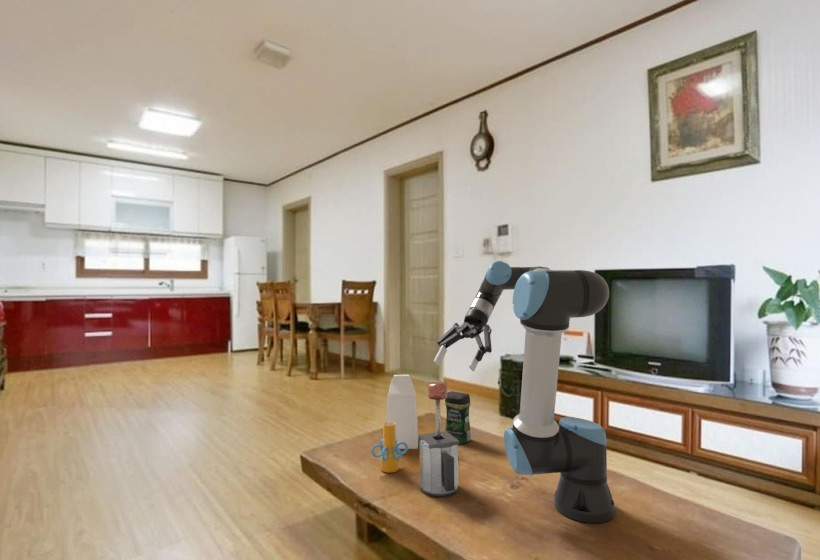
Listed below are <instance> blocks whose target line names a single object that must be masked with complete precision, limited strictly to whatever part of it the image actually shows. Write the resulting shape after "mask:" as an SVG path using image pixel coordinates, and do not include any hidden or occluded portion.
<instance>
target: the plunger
mask: <svg viewBox="0 0 820 560" xmlns="http://www.w3.org/2000/svg"><path fill="white" fill-rule="evenodd" d="M427 385H428V386H427V389H428V390H427V392H428V399H430V400H433V401H435V432H436V440H440V439H441V432H442V431H441V427H442V426H441V425H442V424H441V400H445V399H446V398H447V393H448V384H447V383H446V382H445V381H444V382H443V381H432V382H428V384H427Z"/></svg>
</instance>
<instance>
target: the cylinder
mask: <svg viewBox="0 0 820 560" xmlns="http://www.w3.org/2000/svg"><path fill="white" fill-rule="evenodd" d="M382 423H383V424H382V425H383V426H382V429H383V432H382V433H383V436H382V437H383V438H381V439H380V440H379V442H378V443H376V444H373V446H372V447H371V450H370V451H371V452H370V453H371V455H372V457H374V458H380V470H381V471H382V472H383V473H385V474H386V473H388V474H389V473H390V474H393V473H395V472H398V471H399V470H400V460H401V458H402V455H403V456H404V455H405V454H406V453H407V451H408V450H409V449H408V446H407V444H406V443H405V442H399V443H398V444H397V440H396V434H395V423H394V422H386V421H385V422H382ZM382 444H383V445H382ZM400 444H404V445H405V447H406V448H405V449H404V450H403V451H401V450H402V449H400V448H399V447H398V446H399V445H400ZM377 447H378V448H379V451H380V453H379V454H376V453H375V449H376V448H377Z"/></svg>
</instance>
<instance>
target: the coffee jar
mask: <svg viewBox="0 0 820 560" xmlns="http://www.w3.org/2000/svg"><path fill="white" fill-rule="evenodd" d="M444 405H445V409H446V418H445V420H446V421H445V430H444V431H447V432H448V433H450V434H451V435H452V436H453V437H455V438H456V439H457V440H458V441H459V445H460V444H465V443H469V442H470V441H471V439H472V437H471V436H472V434H471V425H470V423H471V422H470V407H471V397H470V393H466V392H465V393H464V392H458V391H453V390H451V391H449V392H448V391H447V398H446V399H444Z"/></svg>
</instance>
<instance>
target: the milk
mask: <svg viewBox="0 0 820 560" xmlns="http://www.w3.org/2000/svg"><path fill="white" fill-rule="evenodd" d="M417 407H418V406H417V393H416V388H415V385H414V383H413V380H412V377H411V376H410V374H393V377H392V379H391V382H390V383H389V388H388V393H387V395H386V418H385V422H394V423H395V434H396V440H397V444H398V443H399V442H405V443H406V444H407V446H408V450H418V449H419V425H418V424H419V423H418V410H417ZM398 447H399V448H400V450H405V448H406V447H405V445H404V444H400V445H399V446H398Z"/></svg>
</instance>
